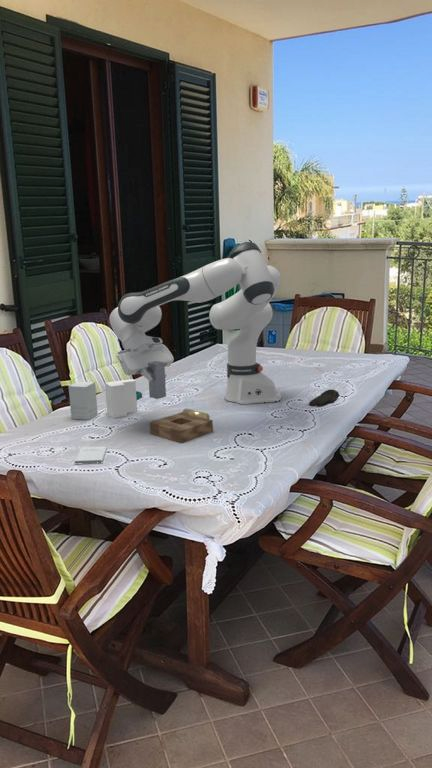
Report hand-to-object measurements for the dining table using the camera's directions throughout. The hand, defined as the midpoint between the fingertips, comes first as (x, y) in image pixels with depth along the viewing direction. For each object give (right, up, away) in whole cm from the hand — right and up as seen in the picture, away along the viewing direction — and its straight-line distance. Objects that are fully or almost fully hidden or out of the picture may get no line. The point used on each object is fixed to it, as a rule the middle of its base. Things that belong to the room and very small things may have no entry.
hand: (158, 379), depth 223 cm
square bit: (0, -6, +2) cm, 6 cm away
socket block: (+8, -18, -2) cm, 20 cm away
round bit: (+12, -15, +10) cm, 22 cm away
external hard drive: (-18, -25, -22) cm, 38 cm away
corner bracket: (-16, -13, +24) cm, 31 cm away
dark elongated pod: (+63, -8, +33) cm, 72 cm away
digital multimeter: (-16, -9, +39) cm, 43 cm away
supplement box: (-29, -14, +19) cm, 37 cm away
